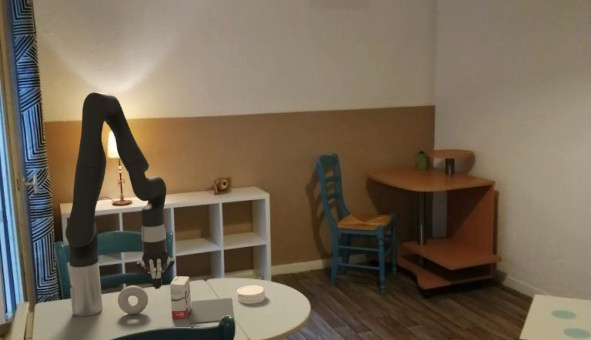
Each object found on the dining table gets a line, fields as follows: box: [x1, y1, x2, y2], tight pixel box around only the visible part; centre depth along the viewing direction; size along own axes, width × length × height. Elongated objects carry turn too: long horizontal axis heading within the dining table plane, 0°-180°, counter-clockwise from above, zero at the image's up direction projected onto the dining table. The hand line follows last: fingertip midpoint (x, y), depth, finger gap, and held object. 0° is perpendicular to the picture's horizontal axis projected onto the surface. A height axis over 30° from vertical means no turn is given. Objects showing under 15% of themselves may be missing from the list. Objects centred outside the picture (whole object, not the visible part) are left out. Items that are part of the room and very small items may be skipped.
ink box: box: [169, 275, 192, 319], centre depth 189 cm, size 9×5×12 cm, turn 179°
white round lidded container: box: [236, 284, 266, 305], centre depth 201 cm, size 10×10×4 cm
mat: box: [189, 297, 234, 325], centre depth 191 cm, size 14×18×1 cm
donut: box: [117, 284, 149, 315], centre depth 190 cm, size 10×4×10 cm, turn 94°
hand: (157, 288), depth 187 cm, fingers closed
